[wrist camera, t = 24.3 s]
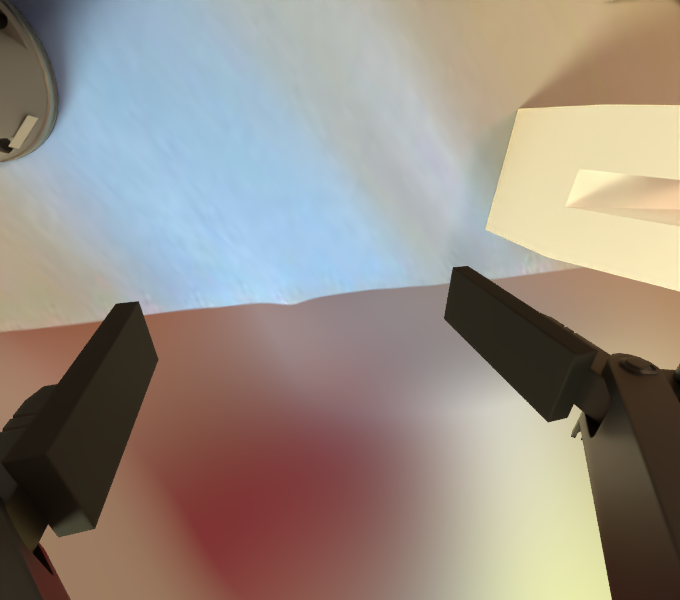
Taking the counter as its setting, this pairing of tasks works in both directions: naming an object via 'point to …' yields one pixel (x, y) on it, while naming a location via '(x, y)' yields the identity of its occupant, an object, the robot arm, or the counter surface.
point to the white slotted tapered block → (595, 188)
